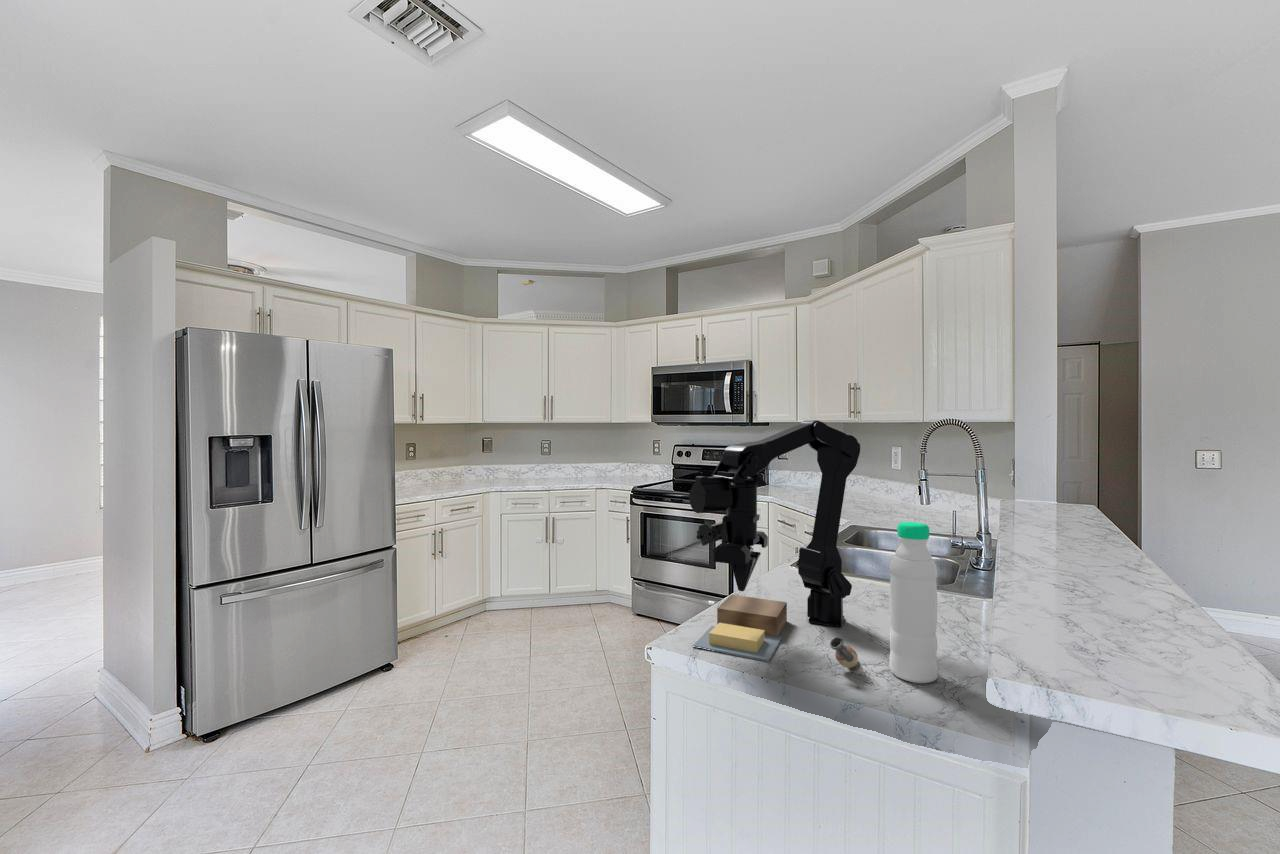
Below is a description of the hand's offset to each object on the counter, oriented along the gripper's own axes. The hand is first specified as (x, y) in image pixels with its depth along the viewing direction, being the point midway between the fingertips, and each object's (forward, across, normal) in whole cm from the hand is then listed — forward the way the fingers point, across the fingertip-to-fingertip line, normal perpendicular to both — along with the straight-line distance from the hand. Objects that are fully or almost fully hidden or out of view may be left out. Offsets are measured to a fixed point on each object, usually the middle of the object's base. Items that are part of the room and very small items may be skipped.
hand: (741, 590), depth 105 cm
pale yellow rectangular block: (+7, +3, 0) cm, 8 cm away
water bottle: (+9, +3, +30) cm, 31 cm away
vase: (+10, +7, +20) cm, 23 cm away
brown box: (+9, -8, 0) cm, 12 cm away
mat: (+9, +3, 0) cm, 10 cm away
